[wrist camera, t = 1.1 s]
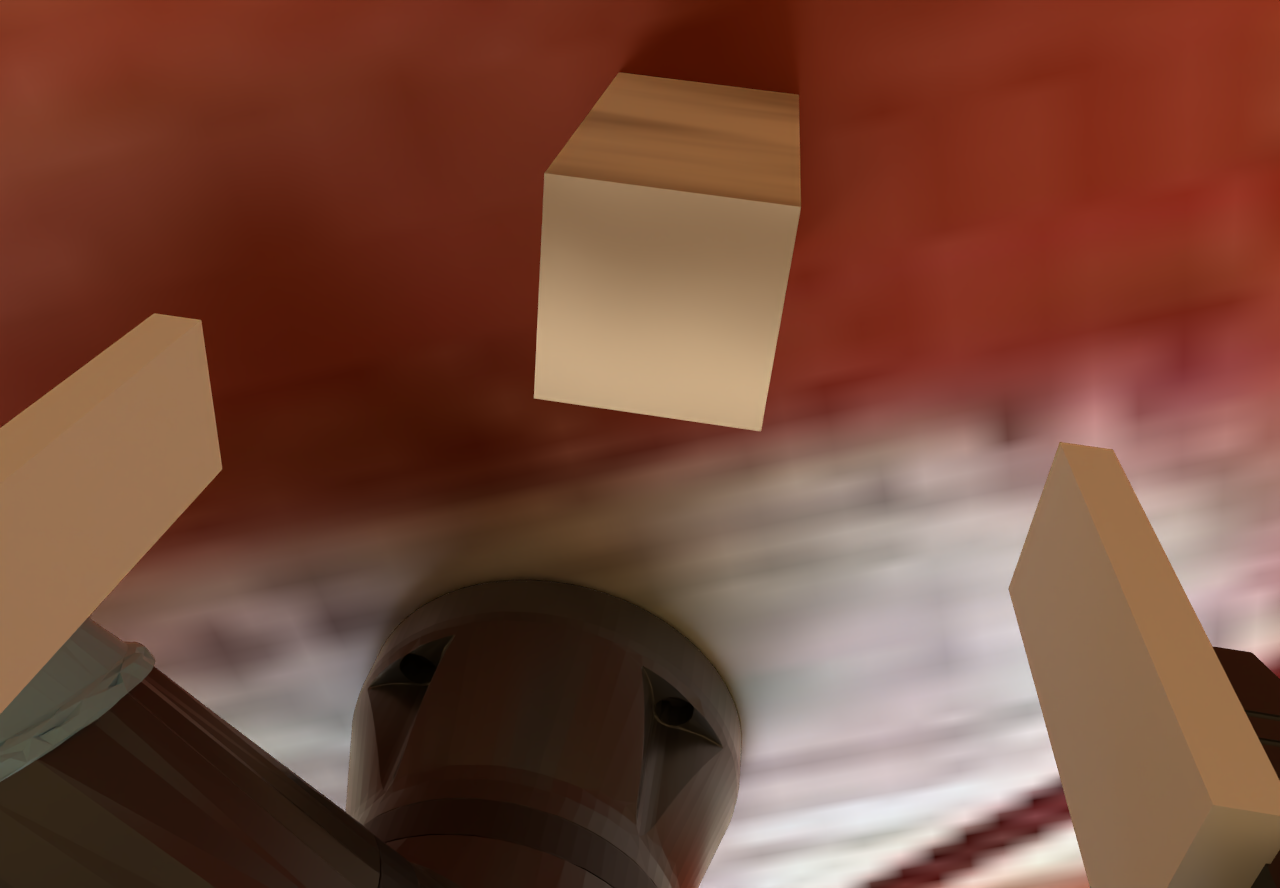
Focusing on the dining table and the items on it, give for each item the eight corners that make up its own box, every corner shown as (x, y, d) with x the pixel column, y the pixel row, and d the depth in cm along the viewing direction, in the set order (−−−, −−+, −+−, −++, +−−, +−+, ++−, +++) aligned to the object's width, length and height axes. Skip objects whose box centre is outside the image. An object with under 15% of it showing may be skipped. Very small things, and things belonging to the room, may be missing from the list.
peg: (770, 266, 31) (761, 431, 22) (605, 243, 31) (534, 398, 23) (798, 94, 28) (801, 206, 20) (618, 72, 29) (544, 173, 20)
